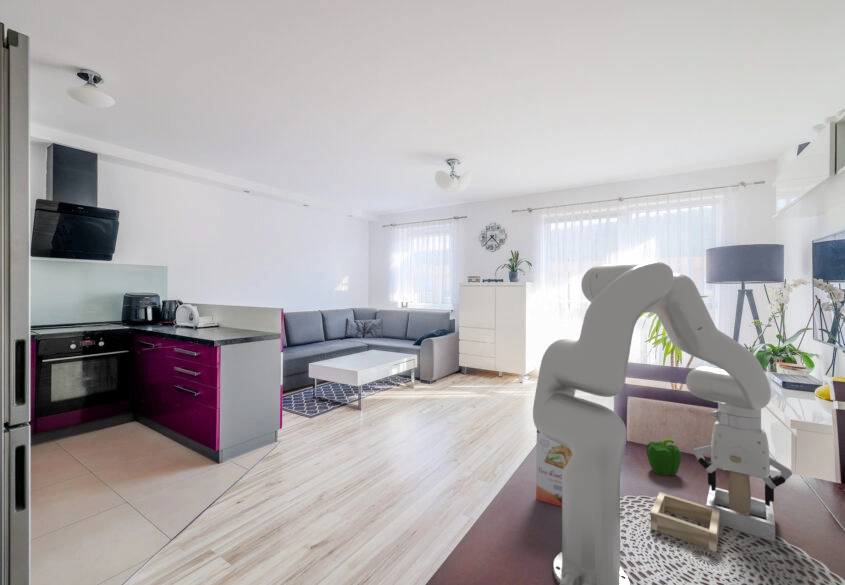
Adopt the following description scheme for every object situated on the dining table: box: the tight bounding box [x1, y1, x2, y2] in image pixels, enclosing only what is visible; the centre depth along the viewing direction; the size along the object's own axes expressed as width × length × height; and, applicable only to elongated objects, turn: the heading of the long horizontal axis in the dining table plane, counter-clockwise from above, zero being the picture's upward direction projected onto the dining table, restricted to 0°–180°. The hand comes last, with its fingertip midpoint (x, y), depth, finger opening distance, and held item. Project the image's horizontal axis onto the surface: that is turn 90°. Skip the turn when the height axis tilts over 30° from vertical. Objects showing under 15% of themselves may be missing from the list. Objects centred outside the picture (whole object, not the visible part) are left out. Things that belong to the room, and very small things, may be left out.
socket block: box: [705, 485, 776, 543], centre depth 85 cm, size 11×11×4 cm
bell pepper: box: [646, 438, 682, 477], centre depth 108 cm, size 8×8×10 cm
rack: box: [650, 491, 721, 553], centre depth 82 cm, size 11×11×4 cm
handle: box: [728, 456, 752, 515], centre depth 85 cm, size 5×6×15 cm
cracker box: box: [535, 429, 572, 508], centre depth 91 cm, size 14×6×21 cm, turn 60°
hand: (739, 495), depth 85 cm, fingers open, 9 cm apart
